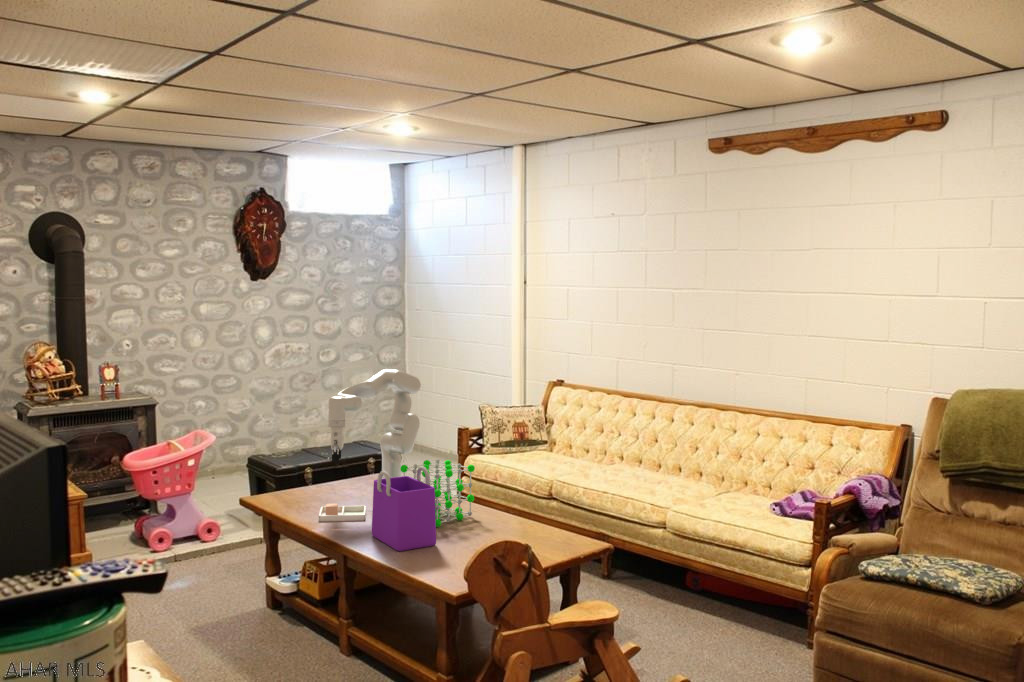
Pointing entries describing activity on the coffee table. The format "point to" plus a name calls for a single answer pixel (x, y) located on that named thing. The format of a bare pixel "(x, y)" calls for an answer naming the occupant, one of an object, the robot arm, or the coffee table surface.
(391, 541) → the shopping bag
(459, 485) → the molecular structure model
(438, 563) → the coffee table surface
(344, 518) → the sorting box
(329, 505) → the plain light orange cube
